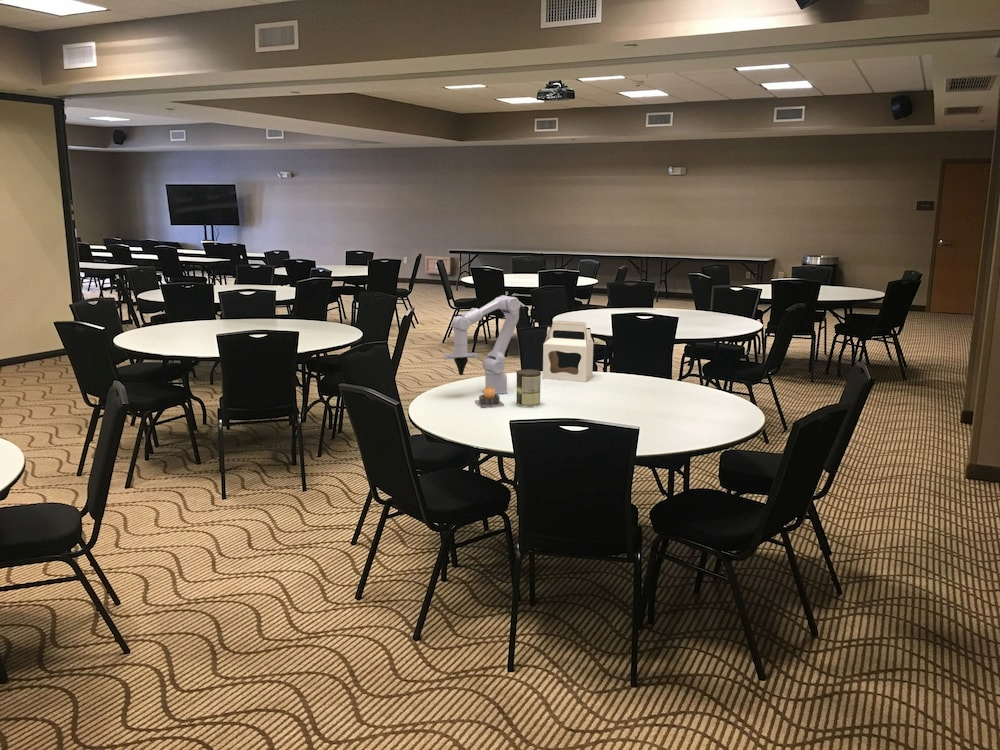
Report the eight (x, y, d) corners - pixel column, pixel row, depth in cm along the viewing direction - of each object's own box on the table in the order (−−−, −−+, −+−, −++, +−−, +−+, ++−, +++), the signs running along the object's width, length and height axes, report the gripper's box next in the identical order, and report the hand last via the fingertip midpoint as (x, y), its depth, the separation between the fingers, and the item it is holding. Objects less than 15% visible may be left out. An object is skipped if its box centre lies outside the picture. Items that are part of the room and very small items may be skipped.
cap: (489, 400, 327) (489, 385, 325) (496, 402, 324) (496, 387, 322) (481, 402, 324) (481, 387, 322) (489, 404, 320) (489, 389, 319)
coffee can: (511, 404, 323) (511, 372, 321) (524, 400, 332) (525, 368, 329) (531, 408, 318) (532, 375, 315) (545, 403, 326) (545, 371, 323)
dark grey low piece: (497, 401, 330) (497, 393, 329) (504, 406, 321) (504, 398, 320) (474, 402, 327) (474, 394, 326) (481, 408, 318) (481, 399, 317)
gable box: (542, 378, 376) (543, 322, 370) (549, 373, 388) (550, 318, 382) (586, 382, 368) (588, 324, 362) (592, 377, 380) (594, 321, 374)
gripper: (474, 341, 338) (474, 372, 341) (442, 343, 334) (442, 373, 337) (478, 344, 332) (478, 375, 335) (446, 345, 328) (446, 377, 330)
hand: (460, 374), depth 335 cm, fingers closed
